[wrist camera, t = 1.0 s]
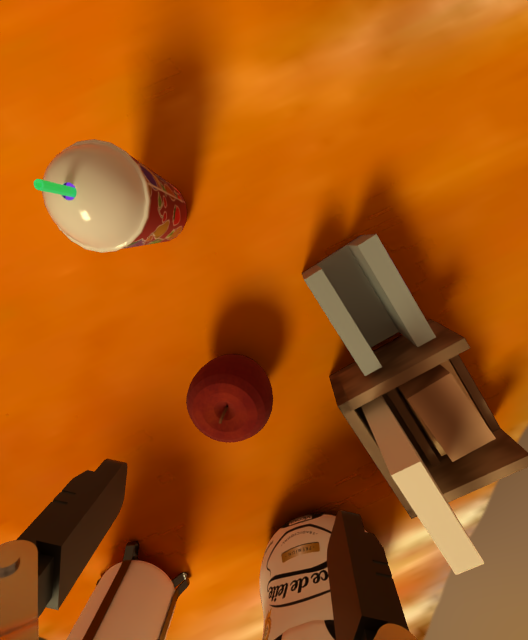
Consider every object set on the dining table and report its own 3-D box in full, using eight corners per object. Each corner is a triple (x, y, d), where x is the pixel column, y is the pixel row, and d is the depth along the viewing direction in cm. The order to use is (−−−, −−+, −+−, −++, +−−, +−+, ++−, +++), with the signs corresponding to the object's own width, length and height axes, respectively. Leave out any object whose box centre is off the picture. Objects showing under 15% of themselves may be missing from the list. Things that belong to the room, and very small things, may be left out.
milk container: (298, 481, 46) (303, 625, 29) (405, 536, 47) (474, 709, 30) (242, 565, 51) (217, 736, 33) (342, 614, 51) (369, 807, 34)
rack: (430, 319, 40) (464, 338, 32) (490, 422, 42) (535, 463, 35) (329, 376, 43) (337, 406, 35) (390, 470, 45) (411, 518, 37)
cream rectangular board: (371, 378, 41) (420, 461, 26) (414, 446, 43) (484, 563, 27) (353, 388, 42) (390, 475, 26) (396, 455, 43) (455, 575, 28)
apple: (209, 335, 43) (185, 362, 33) (282, 351, 42) (280, 384, 33) (197, 401, 45) (171, 445, 35) (266, 417, 45) (260, 466, 35)
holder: (361, 235, 38) (376, 233, 32) (411, 321, 40) (436, 337, 33) (301, 273, 40) (304, 279, 33) (352, 354, 42) (365, 376, 35)
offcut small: (437, 362, 36) (450, 372, 34) (479, 423, 38) (495, 438, 35) (397, 386, 37) (406, 399, 35) (440, 445, 39) (452, 462, 36)
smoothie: (176, 161, 38) (57, 78, 19) (209, 230, 39) (131, 218, 20) (115, 195, 39) (-54, 150, 20) (149, 260, 41) (22, 276, 21)
